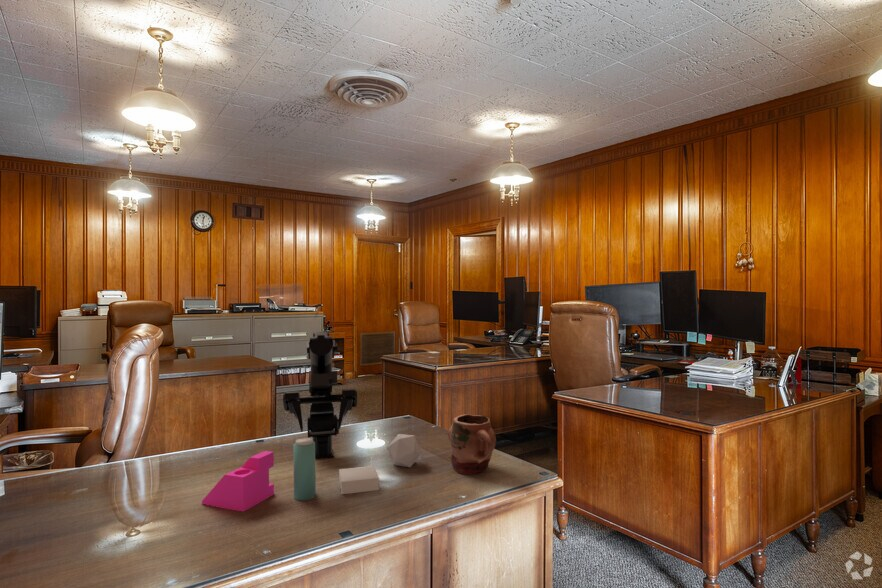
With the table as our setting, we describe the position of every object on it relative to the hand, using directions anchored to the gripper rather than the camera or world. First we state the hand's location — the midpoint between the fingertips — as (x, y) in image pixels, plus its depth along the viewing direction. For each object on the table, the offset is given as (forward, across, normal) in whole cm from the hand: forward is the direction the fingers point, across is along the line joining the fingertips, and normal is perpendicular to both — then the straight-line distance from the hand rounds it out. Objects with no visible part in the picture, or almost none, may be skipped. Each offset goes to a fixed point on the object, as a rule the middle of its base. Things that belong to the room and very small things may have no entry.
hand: (320, 429), depth 127 cm
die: (+4, +23, +16) cm, 28 cm away
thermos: (+15, -4, +4) cm, 16 cm away
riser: (+12, +9, +7) cm, 17 cm away
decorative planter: (+10, +40, +10) cm, 42 cm away
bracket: (+14, -19, +6) cm, 24 cm away
